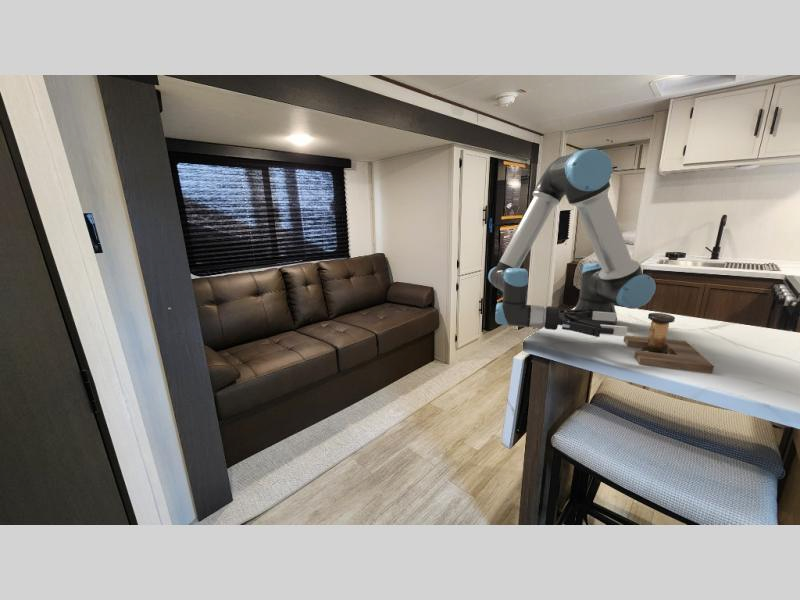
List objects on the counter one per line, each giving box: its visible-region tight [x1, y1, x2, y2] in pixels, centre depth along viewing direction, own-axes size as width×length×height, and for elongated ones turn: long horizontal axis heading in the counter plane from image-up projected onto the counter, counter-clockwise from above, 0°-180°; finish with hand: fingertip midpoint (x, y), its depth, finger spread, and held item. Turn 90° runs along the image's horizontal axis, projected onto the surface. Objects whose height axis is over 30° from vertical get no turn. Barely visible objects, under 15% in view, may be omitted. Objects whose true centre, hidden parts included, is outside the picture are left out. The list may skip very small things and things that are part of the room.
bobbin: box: [641, 312, 676, 354], centre depth 94 cm, size 6×6×12 cm
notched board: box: [623, 334, 715, 374], centre depth 95 cm, size 18×16×2 cm
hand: (620, 324), depth 97 cm, fingers open, 13 cm apart
